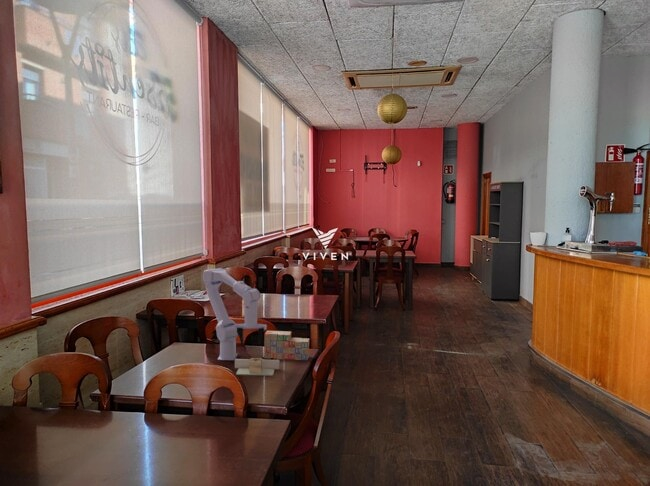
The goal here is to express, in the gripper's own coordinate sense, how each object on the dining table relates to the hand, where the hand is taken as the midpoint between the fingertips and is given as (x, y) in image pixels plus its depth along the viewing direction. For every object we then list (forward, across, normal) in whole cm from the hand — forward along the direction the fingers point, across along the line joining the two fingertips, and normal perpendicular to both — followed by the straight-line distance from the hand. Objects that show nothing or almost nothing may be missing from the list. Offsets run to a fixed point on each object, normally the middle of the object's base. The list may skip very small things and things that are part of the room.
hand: (250, 344), depth 205 cm
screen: (+9, +4, -6) cm, 12 cm away
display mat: (+9, +4, -10) cm, 15 cm away
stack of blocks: (+10, +16, +11) cm, 22 cm away
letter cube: (+9, +4, -10) cm, 14 cm away
